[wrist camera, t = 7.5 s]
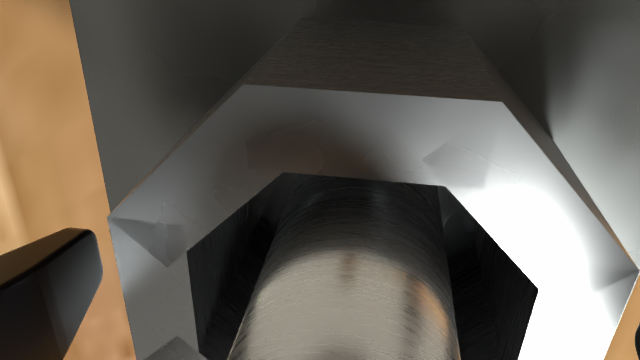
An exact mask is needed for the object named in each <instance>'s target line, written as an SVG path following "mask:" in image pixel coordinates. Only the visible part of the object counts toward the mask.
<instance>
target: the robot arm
mask: <svg viewBox="0 0 640 360" xmlns="http://www.w3.org/2000/svg"><path fill="white" fill-rule="evenodd" d="M102 276H103V266H102V262H101V257H100V252H99V248H98V243H97V239H96V236H95V234H94V233H93V232H92V231H91V230H88V229H79V228H66V229H63V230H61V231H58V232H56V233H53V234H51V235H49V236H46V237H44V238H41V239H39V240H37V241H34V242H32V243H29V244H27V245H24V246H22V247H20V248H17V249H15V250H12V251H10V252H8V253H5V254H3V255H0V360H63V358H64V357H65V355H66V353H67V351H68V349H69V347H70V345H71V343H72V341H73V339H74V337H75V335H76V333H77V331H78V328H79V326H80V324H81V322H82V320H83V318H84V316H85V314H86V312H87V310H88V308H89V306H90V304H91V302H92V300H93V298H94V295H95V293H96V291H97V289H98V287H99V285H100V283H101V280H102ZM635 347H636V351H637V355H638V358H639V360H640V324H639V326H638V328H637V331H636V334H635Z"/></svg>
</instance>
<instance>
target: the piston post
mask: <svg viewBox="0 0 640 360" xmlns="http://www.w3.org/2000/svg"><path fill="white" fill-rule="evenodd" d="M69 2H70V7H71V12H72V17H73V22H74V27H75V32H76V38H77V43H78V48H79V53H80V58H81V63H82V68H83V74H84V79H85V84H86V89H87V94H88V99H89V104H90V110H91V115H92V120H93V125H94V130H95V135H96V140H97V146H98V151H99V156H100V161H101V166H102V171H103V176H104V182H105V187H106V192H107V197H108V202H109V207H110V212H112V211H113V210H114V209H115V208H116V207H117V206H118V205H119V204H120V203H121V202H122V201H123V200H124V199H125V198H126V196H127V195H128V194H129V193H130V192H131V191H132V190H133V189H134V188H135V187H136V186H137V185H138V184H139V183H140V182H141V181H142V179H143V178H144V177H145V176H146V175H147V174H148V173H149V172H150V171H151V170H152V169H153V168H154V167H155V166H156V165H157V164H158V162H159V161H160V160H161V159H162V158H163V157H164V156H165V155H166V154H167V153H168V152H169V151H170V150H171V149H172V148H173V147H174V146H175V144H176V143H177V142H178V141H179V140H180V139H181V138H182V137H183V136H184V135H185V134H186V133H187V132H188V131H189V130H190V129H191V127H192V126H193V125H194V124H195V123H196V122H197V121H198V120H199V119H200V118H201V117H202V116H203V115H204V114H205V113H206V112H207V111H208V110H209V109H210V108H211V107H212V106H213V105H214V104H215V103H216V102H217V101H218V100H219V99H220V98H221V97H222V96H223V95H224V94H225V93H226V92H227V91H228V90H229V89H230V88H231V87H232V86H233V85H234V84H235V83H236V82H237V81H238V80H239V79H240V78H241V77H242V76H243V75H244V74H245V73H246V72H247V71H248V70H249V69H250V68H251V67H253V66H254V65H255V64H256V63H257V62H258V61H259V60H260V59H261V58H262V57H263V56H264V55H265V54H266V53H267V52H268V51H269V50H270V49H271V48H272V47H273V46H274V45H275V44H276V43H277V42H278V41H279V40H280V39H281V38H282V37H283V36H284V35H285V34H286V33H287V32H288V31H289V30H290V29H291V28H292V27H293V26H294V25H295V24H296V23H297V22H298V21H299V20H300V19H301V18H311V19H330V20H348V21H367V22H386V23H405V24H424V25H442V26H461V27H463V28H464V29H465V30H466V32H467V33H468V34H469V35H470V37H471V38H472V39H473V40H474V42H475V43H476V44H477V45H478V47H479V48H480V49H481V50H482V52H483V53H484V54H485V55H486V57H487V58H488V59H489V60H490V62H491V63H492V64H493V65H494V67H495V68H496V69H497V70H498V72H499V73H500V74H501V75H502V77H503V78H504V79H505V80H506V82H507V83H508V84H509V85H510V87H511V88H512V89H513V90H514V92H515V93H516V94H517V95H518V97H519V98H520V99H521V100H522V102H523V103H524V104H525V105H526V107H527V108H528V109H529V110H530V112H531V113H532V114H533V115H534V117H535V118H536V119H537V120H538V122H539V123H540V124H541V125H542V127H543V128H544V129H545V130H546V132H547V133H548V134H549V135H550V137H551V138H552V139H553V141H554V142H555V143H556V145H557V146H558V148H559V149H560V151H561V152H562V154H563V156H564V157H565V159H566V160H567V162H568V163H569V165H570V166H571V168H572V169H573V171H574V172H575V174H576V175H577V177H578V178H579V180H580V181H581V183H582V184H583V186H584V187H585V189H586V190H587V192H588V193H589V195H590V196H591V198H592V199H593V201H594V202H595V204H596V205H597V207H598V208H599V210H600V211H601V213H602V215H603V216H604V218H605V219H606V221H607V222H608V224H609V225H610V227H611V228H612V230H613V231H614V233H615V234H616V236H617V237H618V239H619V240H620V242H621V243H622V245H623V246H624V248H625V249H626V251H627V252H628V254H629V255H630V257H631V258H632V260H633V261H634V263H635V264H636V266H637V267H638V269H639V270H640V0H69ZM258 200H259V219H260V220H261V221H262V222H264V223H265V224H266V225H267V226H268V227H269V228H270V229H271V230H272V231H273V232H274V233H275V235H274V238H273V241H272V243H271V246H270V248H269V251H268V254H267V256H266V259H265V262H264V264H263V267H262V270H261V272H260V275H259V277H258V280H257V283H256V285H255V288H254V291H253V293H252V296H251V298H250V301H249V304H248V306H247V309H246V312H245V314H244V317H243V320H242V322H241V325H240V327H239V330H238V333H237V335H236V338H235V341H234V343H233V346H232V348H231V351H230V354H229V356H228V359H227V360H461V357H460V350H459V342H458V335H457V328H456V320H455V313H454V305H453V298H452V291H451V283H450V276H449V269H448V261H447V255H449V254H451V253H452V252H454V251H456V250H457V249H459V248H461V247H462V246H464V245H466V244H467V243H469V242H471V241H472V240H474V237H475V232H476V227H477V223H478V221H477V220H476V219H475V218H474V217H473V216H472V215H471V214H470V213H469V212H468V210H467V209H466V208H465V207H464V206H463V205H462V204H461V203H460V202H459V201H458V199H457V198H456V197H455V196H454V195H453V194H452V193H451V192H450V191H449V190H448V188H447V187H446V186H438V185H427V184H415V183H404V182H392V181H381V180H369V179H358V178H346V177H335V176H323V175H312V174H300V173H289V172H283V173H282V174H280V175H279V176H278V177H277V178H275V179H274V180H273V181H272V182H271V183H269V184H268V185H267V186H266V187H265V188H263V189H262V190H261V191H260V192H258ZM639 274H640V271H639V273H638V276H639ZM638 276H637V278H636V281H637V279H638ZM636 281H635V283H636ZM635 283H634V286H635ZM634 286H633V288H634ZM633 288H632V290H633ZM632 290H631V293H632ZM631 293H630V295H631ZM630 295H629V297H630ZM628 300H629V298H628ZM628 300H627V302H628ZM626 304H627V303H626ZM625 307H626V305H625ZM625 307H624V309H625ZM623 312H624V310H623ZM623 312H622V314H623ZM621 316H622V315H621ZM620 319H621V317H620ZM619 321H620V320H619ZM618 323H619V322H618ZM617 326H618V325H617ZM616 328H617V327H616ZM615 330H616V329H615ZM614 333H615V332H614ZM613 335H614V334H613ZM611 340H612V339H611ZM609 345H610V344H609ZM608 347H609V346H608ZM606 352H607V351H606Z"/></svg>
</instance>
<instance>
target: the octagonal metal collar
mask: <svg viewBox="0 0 640 360" xmlns="http://www.w3.org/2000/svg"><path fill="white" fill-rule="evenodd" d="M283 172H289V173H300V174H312V175H323V176H335V177H346V178H358V179H369V180H381V181H392V182H404V183H415V184H427V185H438V186H446V187H447V188H448V190H449V191H450V192H451V193H452V194H453V195H454V196H455V197H456V198H457V199H458V201H459V202H460V203H461V204H462V205H463V206H464V207H465V208H466V209H467V210H468V212H469V213H470V214H471V215H472V216H473V217H474V218H475V219H476V220H477V221H478V223H477V227H476V232H475V237H474V240H472V241H471V242H469V243H467V244H466V245H464V246H462V247H461V248H459V249H457V250H456V251H454V252H452V253H451V254H449V255H447V261H448V269H449V276H450V283H451V291H452V298H453V305H454V313H455V320H456V328H457V335H458V342H459V350H460V357H461V360H603V359H604V356H605V354H606V351H607V349H608V346H609V344H610V342H611V339H612V337H613V334H614V332H615V329H616V327H617V325H618V322H619V320H620V317H621V315H622V312H623V310H624V307H625V305H626V303H627V300H628V298H629V295H630V293H631V290H632V288H633V286H634V283H635V281H636V278H637V276H638V273H639V271H640V270H639V269H638V267H637V266H636V264H635V263H634V261H633V260H632V258H631V257H630V255H629V254H628V252H627V251H626V249H625V248H624V246H623V245H622V243H621V242H620V240H619V239H618V237H617V236H616V234H615V233H614V231H613V230H612V228H611V227H610V225H609V224H608V222H607V221H606V219H605V218H604V216H603V215H602V213H601V211H600V210H599V208H598V207H597V205H596V204H595V202H594V201H593V199H592V198H591V196H590V195H589V193H588V192H587V190H586V189H585V187H584V186H583V184H582V183H581V181H580V180H579V178H578V177H577V175H576V174H575V172H574V171H573V169H572V168H571V166H570V165H569V163H568V162H567V160H566V159H565V157H564V156H563V154H562V152H561V151H560V149H559V148H558V146H557V145H556V143H555V142H554V141H553V139H552V138H551V137H550V135H549V134H548V133H547V132H546V130H545V129H544V128H543V127H542V125H541V124H540V123H539V122H538V120H537V119H536V118H535V117H534V115H533V114H532V113H531V112H530V110H529V109H528V108H527V107H526V105H525V104H524V103H523V102H522V100H521V99H520V98H519V97H518V95H517V94H516V93H515V92H514V90H513V89H512V88H511V87H510V85H509V84H508V83H507V82H506V80H505V79H504V78H503V77H502V75H501V74H500V73H499V72H498V70H497V69H496V68H495V67H494V65H493V64H492V63H491V62H490V60H489V59H488V58H487V57H486V55H485V54H484V53H483V52H482V50H481V49H480V48H479V47H478V45H477V44H476V43H475V42H474V40H473V39H472V38H471V37H470V35H469V34H468V33H467V32H466V30H465V29H464V28H463V27H461V26H442V25H424V24H405V23H386V22H367V21H348V20H330V19H311V18H301V19H300V20H299V21H298V22H297V23H296V24H295V25H294V26H293V27H292V28H291V29H290V30H289V31H288V32H287V33H286V34H285V35H284V36H283V37H282V38H281V39H280V40H279V41H278V42H277V43H276V44H275V45H274V46H273V47H272V48H271V49H270V50H269V51H268V52H267V53H266V54H265V55H264V56H263V57H262V58H261V59H260V60H259V61H258V62H257V63H256V64H255V65H254V66H253V67H251V68H250V69H249V70H248V71H247V72H246V73H245V74H244V75H243V76H242V77H241V78H240V79H239V80H238V81H237V82H236V83H235V84H234V85H233V86H232V87H231V88H230V89H229V90H228V91H227V92H226V93H225V94H224V95H223V96H222V97H221V98H220V99H219V100H218V101H217V102H216V103H215V104H214V105H213V106H212V107H211V108H210V109H209V110H208V111H207V112H206V113H205V114H204V115H203V116H202V117H201V118H200V119H199V120H198V121H197V122H196V123H195V124H194V125H193V126H192V127H191V129H190V130H189V131H188V132H187V133H186V134H185V135H184V136H183V137H182V138H181V139H180V140H179V141H178V142H177V143H176V144H175V146H174V147H173V148H172V149H171V150H170V151H169V152H168V153H167V154H166V155H165V156H164V157H163V158H162V159H161V160H160V161H159V162H158V164H157V165H156V166H155V167H154V168H153V169H152V170H151V171H150V172H149V173H148V174H147V175H146V176H145V177H144V178H143V179H142V181H141V182H140V183H139V184H138V185H137V186H136V187H135V188H134V189H133V190H132V191H131V192H130V193H129V194H128V195H127V196H126V198H125V199H124V200H123V201H122V202H121V203H120V204H119V205H118V206H117V207H116V208H115V209H114V210H113V211H112V212H111V213H110V214H109V216H108V217H107V220H108V225H109V229H110V234H111V239H112V244H113V249H114V253H115V258H116V263H117V268H118V273H119V277H120V282H121V287H122V292H123V297H124V301H125V306H126V311H127V316H128V321H129V325H130V330H131V335H132V340H133V345H134V349H135V354H136V359H137V360H227V359H228V356H229V354H230V351H231V348H232V346H233V343H234V341H235V338H236V335H237V333H238V330H239V327H240V325H241V322H242V320H243V317H244V314H245V312H246V309H247V306H248V304H249V301H250V298H251V296H252V293H253V291H254V288H255V285H256V283H257V280H258V277H259V275H260V272H261V270H262V267H263V264H264V262H265V259H266V256H267V254H268V251H269V248H270V246H271V243H272V241H273V238H274V235H275V233H274V232H273V231H272V230H271V229H270V228H269V227H268V226H267V225H266V224H265V223H264V222H262V221H261V220H260V219H259V200H258V192H260V191H261V190H262V189H263V188H265V187H266V186H267V185H268V184H269V183H271V182H272V181H273V180H274V179H275V178H277V177H278V176H279V175H280V174H282V173H283Z"/></svg>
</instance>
